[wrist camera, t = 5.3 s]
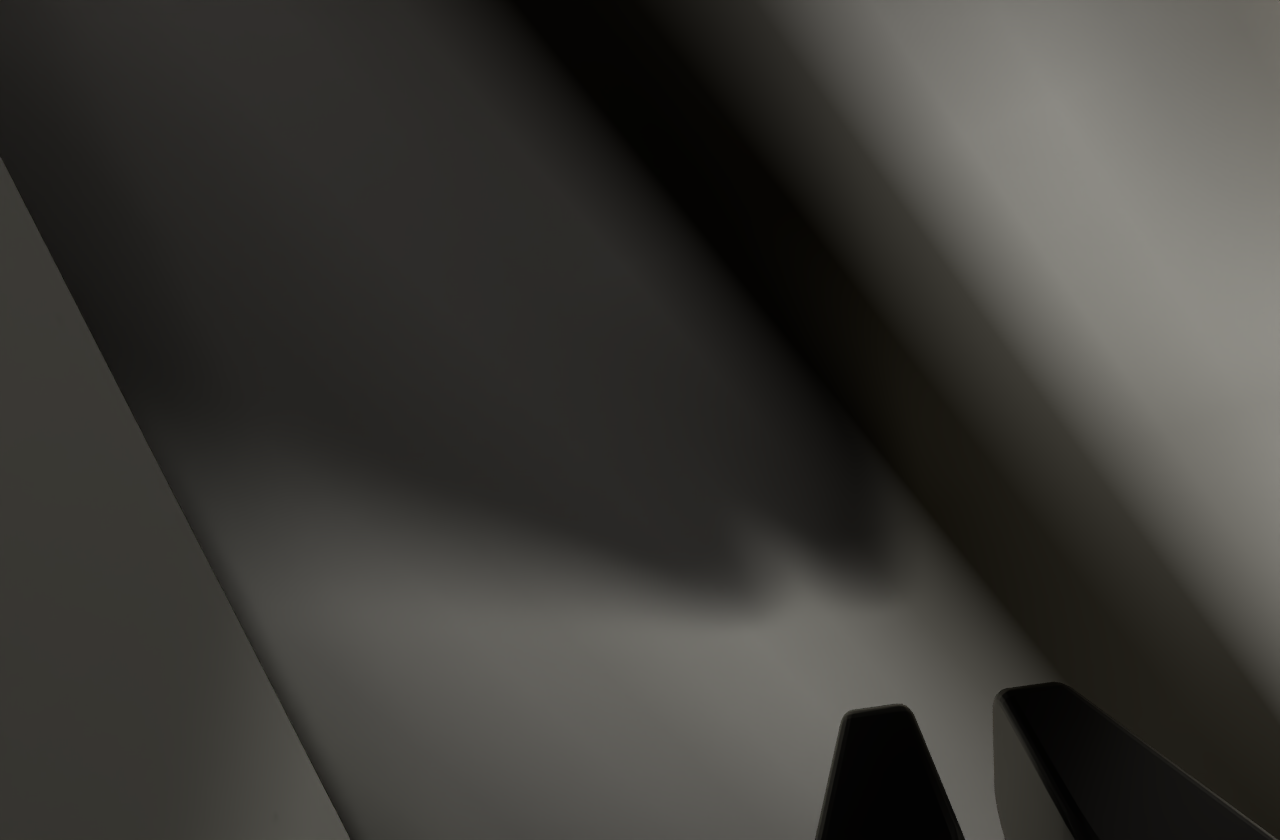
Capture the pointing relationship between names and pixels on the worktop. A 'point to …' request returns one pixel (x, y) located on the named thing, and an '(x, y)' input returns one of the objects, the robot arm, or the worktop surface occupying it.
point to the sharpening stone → (116, 611)
